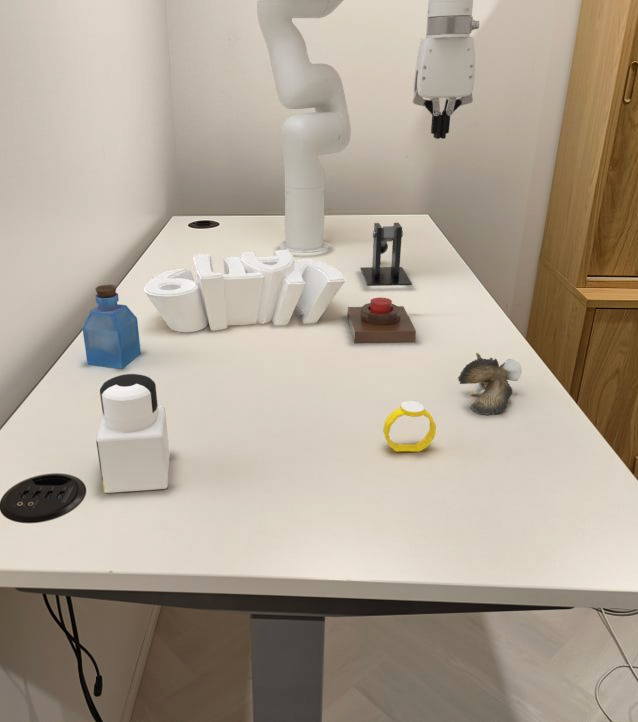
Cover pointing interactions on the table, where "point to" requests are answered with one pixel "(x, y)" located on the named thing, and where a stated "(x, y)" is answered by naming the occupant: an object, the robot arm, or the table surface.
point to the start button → (380, 305)
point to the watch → (414, 411)
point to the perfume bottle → (110, 331)
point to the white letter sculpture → (244, 291)
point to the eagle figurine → (490, 383)
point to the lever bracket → (395, 272)
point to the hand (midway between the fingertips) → (439, 137)
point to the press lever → (386, 237)
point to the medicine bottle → (132, 436)
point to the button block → (381, 325)
